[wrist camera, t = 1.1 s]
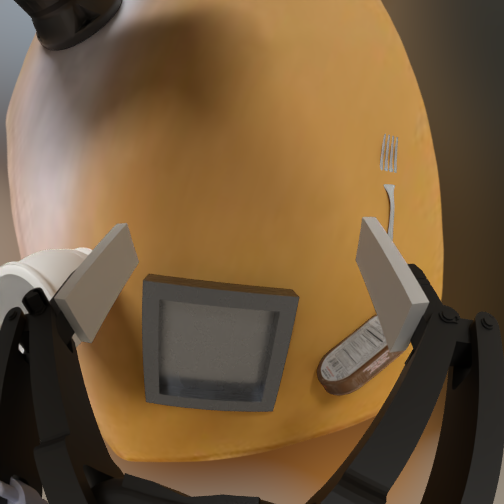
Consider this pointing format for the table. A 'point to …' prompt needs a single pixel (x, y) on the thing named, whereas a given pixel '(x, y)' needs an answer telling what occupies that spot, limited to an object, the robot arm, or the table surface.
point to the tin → (356, 359)
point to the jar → (37, 277)
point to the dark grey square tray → (214, 343)
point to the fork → (388, 187)
